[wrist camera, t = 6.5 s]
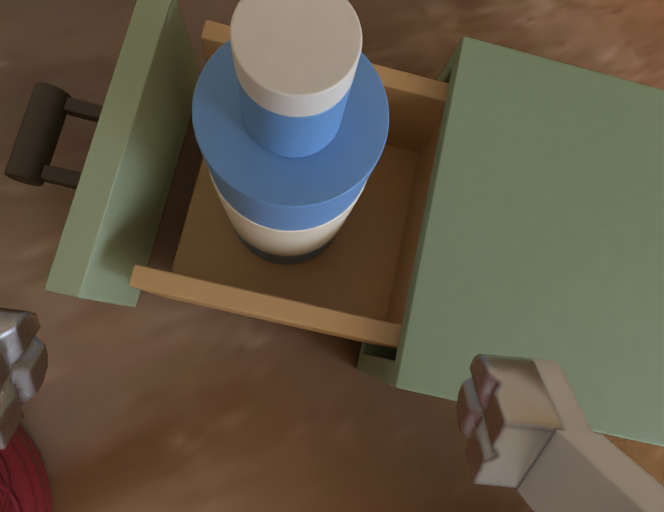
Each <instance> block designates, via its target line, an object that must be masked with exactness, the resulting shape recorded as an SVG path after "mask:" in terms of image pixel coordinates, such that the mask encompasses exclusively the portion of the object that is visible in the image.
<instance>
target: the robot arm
mask: <svg viewBox="0 0 664 512" xmlns="http://www.w3.org/2000/svg"><path fill="white" fill-rule="evenodd" d="M39 328H40V324H39V321H38V318H37V315H36V313H33V312H30V311H23V310H14V309H6V308H0V449H3V450H4V449H5V448H6V446H7V444H8V443H9V441H10V439H11V437H12V436H13V434H14V432H15V431H16V429H17V427H18V426H19V424H20V422H21V420H22V419H23V417H24V415H23V412H22V408H21V405H22V404H23V403H25V402H26V401H28V400H30V399H31V398H33V397H34V396H36V394H37V393H38V391H39V389H40V387H41V385H42V383H43V381H44V378H45V374H46V371H47V367H48V354H47V350H46V346H45V344H44V343H43V342H42V341H40V340H39V339H38V338H37V337H36V336H35V335H36V333H37V332H38V330H39ZM469 368H470V371H471V375H472V377H470V378H469V379H467V380H465V381H464V382H462V385H461V388H460V390H459V393H458V399H457V419H458V423H459V427H460V431H461V432H462V433H463V434H464V435H465V436H466V437H467V438H468V439H469V440H470V442H469V444H468V446H467V448H466V450H465V452H466V456H467V460H468V464H469V468H470V472H471V476H472V480H473V484H482V485H492V486H502V487H512V488H518V489H517V491H518V492H519V494H520V495H521V496H522V497H523V499H524V500H525V501H526V503H527V504H528V505H529V506H530V508H531V509H532V510H533V511H534V512H664V486H662V485H661V484H660V483H659V482H658V481H657V480H655V479H654V478H653V477H652V476H651V475H649V474H648V473H647V472H646V471H645V470H644V469H642V468H641V467H640V466H639V465H638V464H637V463H635V462H634V461H633V460H632V459H631V458H629V457H628V456H627V455H626V454H625V453H624V452H622V451H621V450H620V449H619V448H618V447H616V446H615V445H614V444H613V443H612V442H611V441H609V440H608V439H607V438H606V437H605V436H603V435H602V434H601V433H593V431H592V429H591V427H590V425H589V423H588V421H587V419H586V417H585V415H584V413H583V411H582V409H581V407H580V405H579V403H578V401H577V399H576V397H575V395H574V393H573V391H572V388H571V386H570V384H569V382H568V380H567V378H566V376H565V374H564V372H563V370H562V368H561V366H560V365H559V364H558V363H557V362H556V361H555V360H547V359H535V358H528V359H527V358H524V357H512V356H500V355H488V354H477V355H476V356H475V357H474V358H473V360H472V362H471V364H470V367H469Z"/></svg>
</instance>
